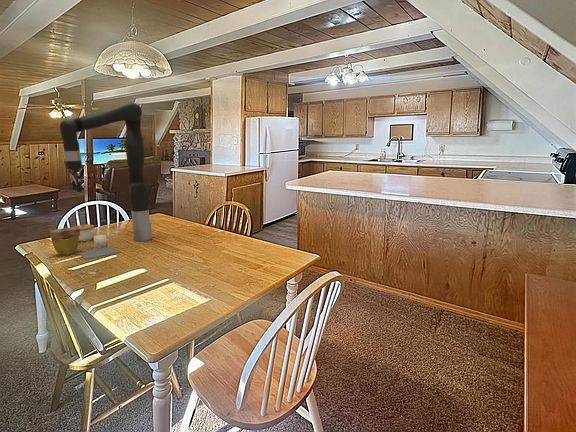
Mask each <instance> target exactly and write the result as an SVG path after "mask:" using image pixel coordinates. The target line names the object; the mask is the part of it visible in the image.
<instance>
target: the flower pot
mask: <svg viewBox="0 0 576 432" xmlns="http://www.w3.org/2000/svg"><path fill="white" fill-rule="evenodd" d="M50 239H51V238H50ZM51 242H52V243H51V244H52V245H53V248H54V250H55V251H56V252H57V253H58V254H59V255H61V256H70V255H71V254H74V253H75V252H76V251H77V250H78V248H79V244H80V243H79V242H80V241H79V236H75V237H69V238H63V239H56V240H52V239H51Z"/></svg>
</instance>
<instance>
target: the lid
mask: <svg viewBox="0 0 576 432" xmlns="http://www.w3.org/2000/svg"><path fill="white" fill-rule="evenodd" d="M75 236H80V230H79V228H78V227H75V226H73V227H64V228H57V229H52V230H49V237H50V239H52V240H56V239H63V238H69V237H75ZM52 240H51V241H52Z"/></svg>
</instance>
